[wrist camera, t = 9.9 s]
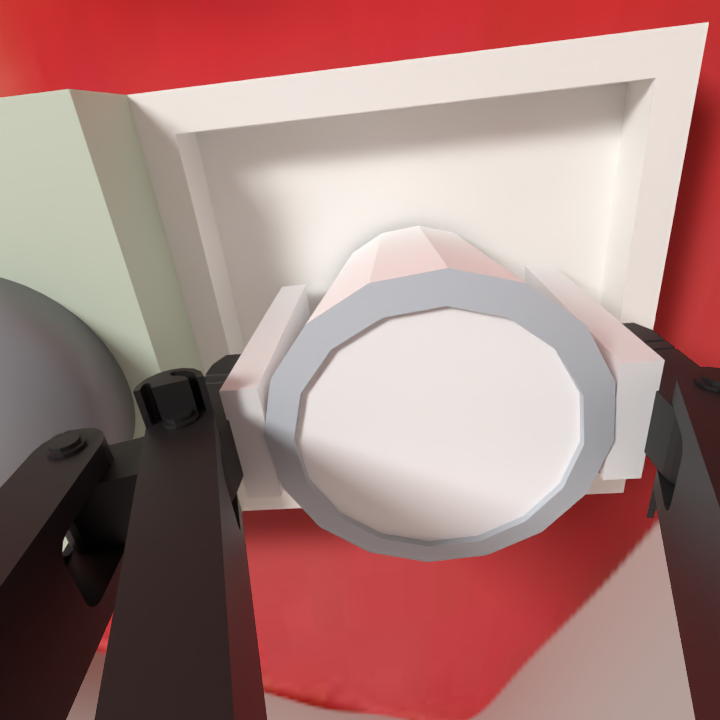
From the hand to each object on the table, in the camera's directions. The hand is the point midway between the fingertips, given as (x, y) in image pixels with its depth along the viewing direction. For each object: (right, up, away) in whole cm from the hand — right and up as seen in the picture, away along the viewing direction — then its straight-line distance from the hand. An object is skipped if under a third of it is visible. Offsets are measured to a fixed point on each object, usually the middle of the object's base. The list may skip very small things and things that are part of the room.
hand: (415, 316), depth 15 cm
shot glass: (0, 0, 0) cm, 1 cm away
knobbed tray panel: (-4, 0, +2) cm, 5 cm away
